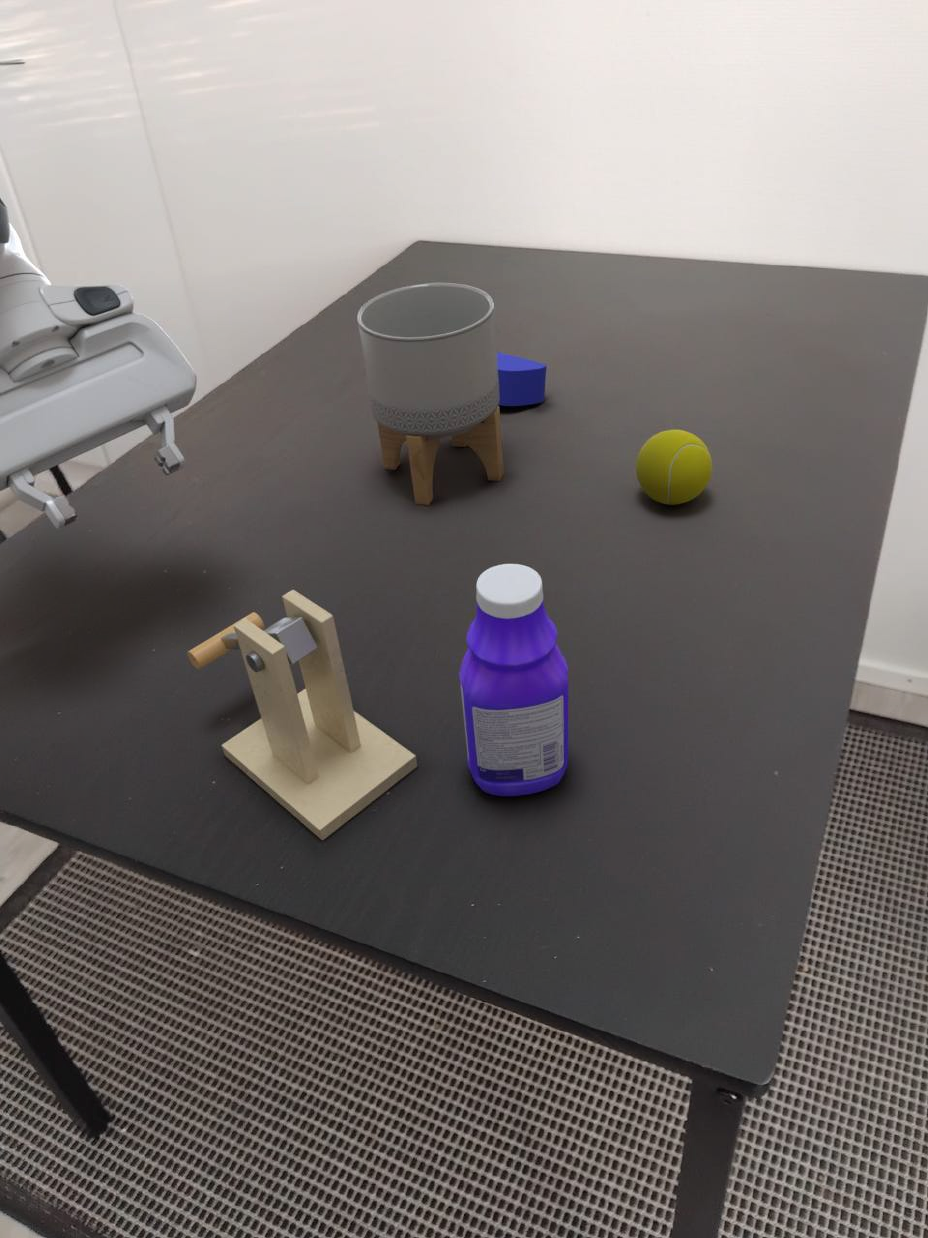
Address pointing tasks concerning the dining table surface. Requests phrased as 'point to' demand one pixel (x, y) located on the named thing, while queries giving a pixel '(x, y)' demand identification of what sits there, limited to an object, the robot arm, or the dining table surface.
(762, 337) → the dining table surface
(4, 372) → the robot arm
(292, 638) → the lever
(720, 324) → the dining table surface
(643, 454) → the tennis ball
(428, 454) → the planter
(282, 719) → the bracket
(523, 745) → the bottle
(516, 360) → the toy
